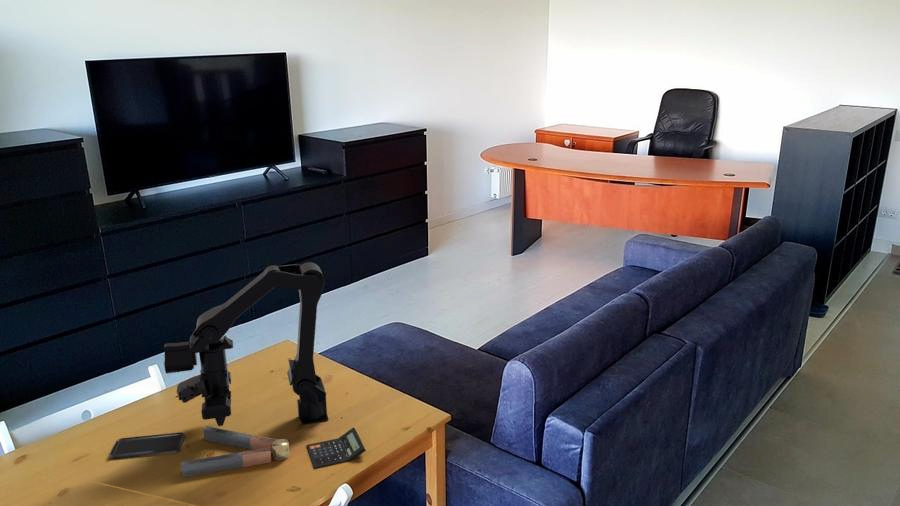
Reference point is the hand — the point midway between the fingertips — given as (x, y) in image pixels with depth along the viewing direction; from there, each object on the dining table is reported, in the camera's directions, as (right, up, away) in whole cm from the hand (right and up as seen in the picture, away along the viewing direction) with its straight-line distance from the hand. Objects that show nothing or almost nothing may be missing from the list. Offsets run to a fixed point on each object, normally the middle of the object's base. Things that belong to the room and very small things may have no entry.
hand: (220, 425), depth 160 cm
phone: (-15, -4, -5) cm, 16 cm away
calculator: (+29, -5, -7) cm, 30 cm away
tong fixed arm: (+6, -6, -13) cm, 16 cm away
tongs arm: (+8, -4, -6) cm, 11 cm away
